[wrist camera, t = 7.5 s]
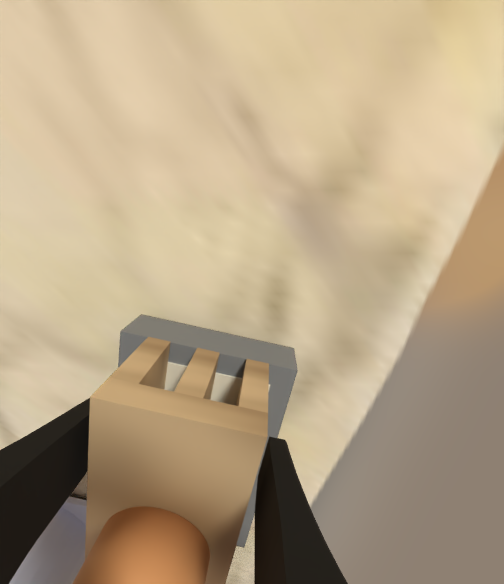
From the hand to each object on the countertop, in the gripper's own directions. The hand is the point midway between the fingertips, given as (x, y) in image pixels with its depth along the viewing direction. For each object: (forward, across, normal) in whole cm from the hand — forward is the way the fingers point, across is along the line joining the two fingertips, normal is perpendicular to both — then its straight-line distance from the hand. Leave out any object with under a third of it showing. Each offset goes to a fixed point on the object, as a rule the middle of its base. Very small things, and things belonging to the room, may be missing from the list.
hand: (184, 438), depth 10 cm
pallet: (+2, 0, +2) cm, 3 cm away
